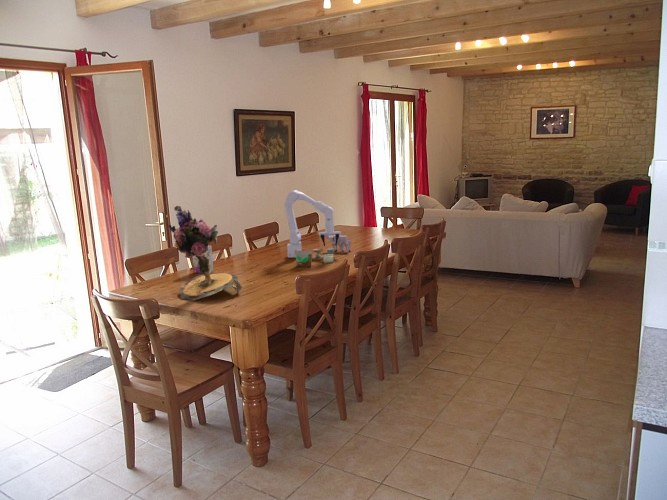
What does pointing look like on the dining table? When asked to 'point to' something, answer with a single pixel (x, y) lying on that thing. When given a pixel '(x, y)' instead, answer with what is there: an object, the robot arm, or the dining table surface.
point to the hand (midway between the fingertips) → (330, 245)
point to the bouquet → (199, 257)
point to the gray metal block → (330, 251)
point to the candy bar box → (207, 255)
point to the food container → (303, 258)
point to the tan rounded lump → (318, 254)
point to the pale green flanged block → (328, 258)
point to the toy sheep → (339, 242)
